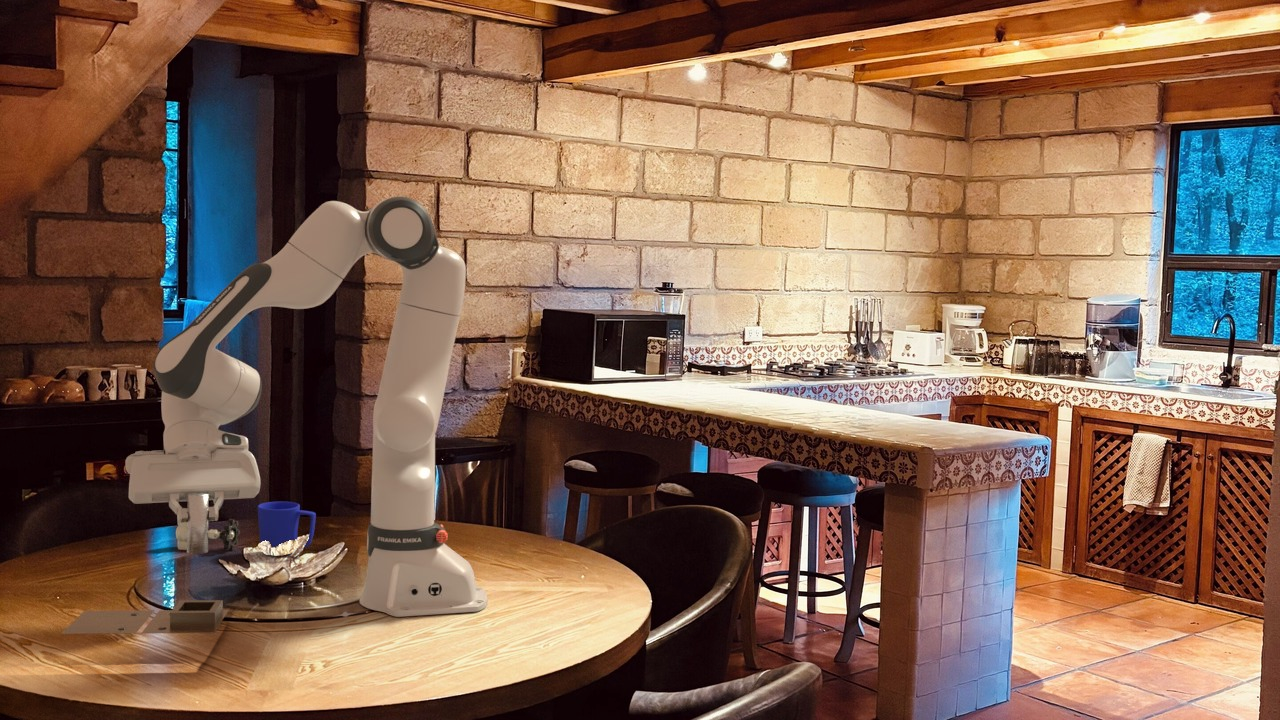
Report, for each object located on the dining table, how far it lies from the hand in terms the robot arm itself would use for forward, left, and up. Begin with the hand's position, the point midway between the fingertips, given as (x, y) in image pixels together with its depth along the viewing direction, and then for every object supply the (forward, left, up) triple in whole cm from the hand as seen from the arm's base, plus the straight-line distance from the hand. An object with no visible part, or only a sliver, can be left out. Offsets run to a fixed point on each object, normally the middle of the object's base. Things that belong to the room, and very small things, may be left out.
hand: (198, 519), depth 189 cm
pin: (0, -1, -5) cm, 5 cm away
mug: (-8, -49, -18) cm, 52 cm away
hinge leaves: (+8, -1, -18) cm, 20 cm away
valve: (+9, -53, -18) cm, 57 cm away
